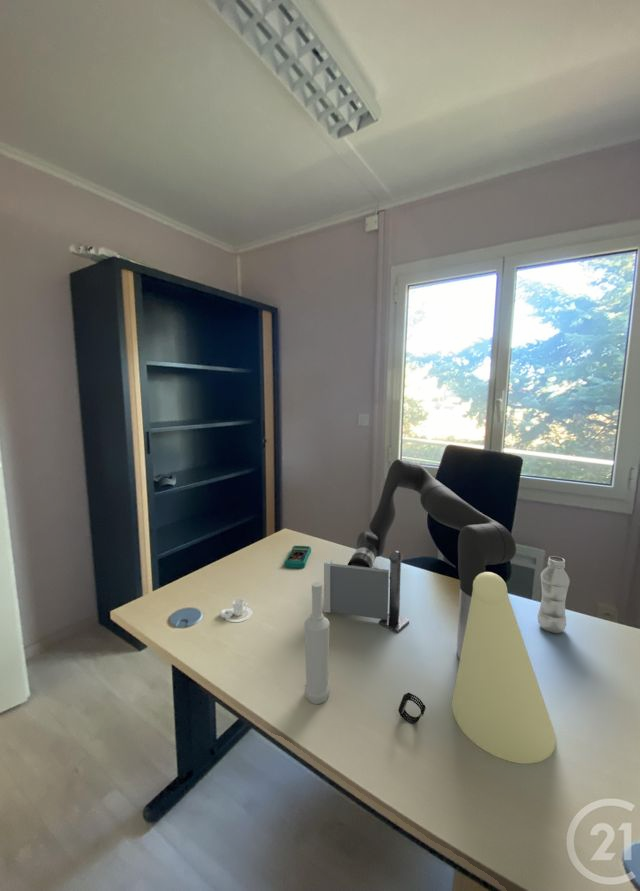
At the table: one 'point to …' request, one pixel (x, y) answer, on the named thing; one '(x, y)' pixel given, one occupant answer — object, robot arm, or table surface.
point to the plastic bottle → (553, 596)
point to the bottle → (317, 650)
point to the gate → (356, 590)
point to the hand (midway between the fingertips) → (348, 589)
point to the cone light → (499, 681)
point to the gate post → (394, 595)
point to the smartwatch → (403, 705)
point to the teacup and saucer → (236, 611)
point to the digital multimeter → (298, 557)
